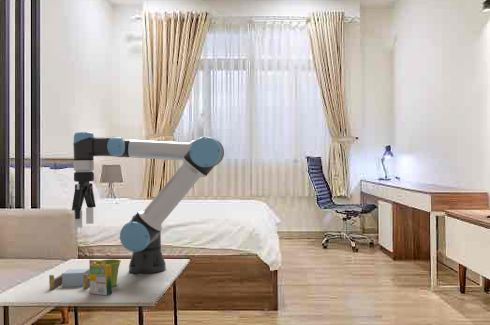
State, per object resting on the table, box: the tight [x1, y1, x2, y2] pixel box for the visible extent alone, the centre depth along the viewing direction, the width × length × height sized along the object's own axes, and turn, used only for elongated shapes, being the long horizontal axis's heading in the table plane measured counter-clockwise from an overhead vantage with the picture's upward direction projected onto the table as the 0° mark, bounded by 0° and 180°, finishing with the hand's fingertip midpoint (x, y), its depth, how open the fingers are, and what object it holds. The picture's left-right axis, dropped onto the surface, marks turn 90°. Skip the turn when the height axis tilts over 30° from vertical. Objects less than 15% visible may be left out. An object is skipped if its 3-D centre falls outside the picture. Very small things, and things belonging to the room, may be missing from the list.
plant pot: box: [94, 258, 122, 287], centre depth 180 cm, size 9×9×9 cm
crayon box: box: [88, 259, 113, 296], centre depth 168 cm, size 7×3×12 cm, turn 65°
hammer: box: [48, 274, 90, 291], centre depth 183 cm, size 14×14×5 cm
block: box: [61, 267, 90, 288], centre depth 185 cm, size 8×8×5 cm
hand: (84, 225), depth 194 cm, fingers open, 13 cm apart
